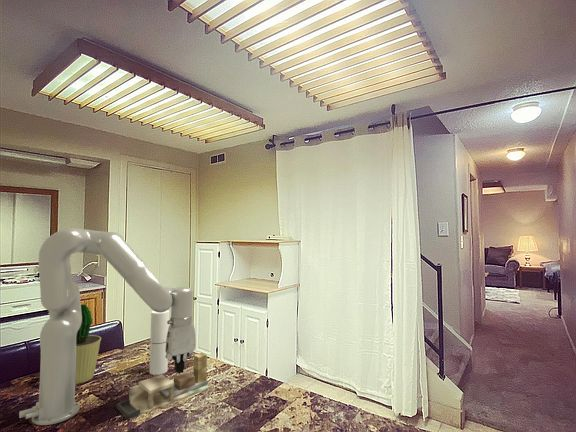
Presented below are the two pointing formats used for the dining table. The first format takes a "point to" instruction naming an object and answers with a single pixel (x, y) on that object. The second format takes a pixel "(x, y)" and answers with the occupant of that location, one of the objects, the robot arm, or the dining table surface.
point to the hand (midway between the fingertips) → (179, 371)
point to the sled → (190, 377)
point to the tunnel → (152, 396)
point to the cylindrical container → (158, 342)
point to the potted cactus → (86, 348)
